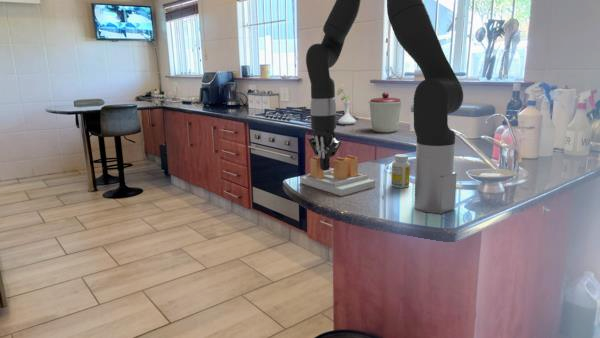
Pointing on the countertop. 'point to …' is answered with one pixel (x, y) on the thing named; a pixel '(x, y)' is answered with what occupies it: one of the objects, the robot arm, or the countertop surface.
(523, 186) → the countertop surface
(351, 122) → the flower in vase
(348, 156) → the tab
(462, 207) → the countertop surface
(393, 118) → the canister
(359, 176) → the switch bank
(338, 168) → the tab
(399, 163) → the supplement bottle
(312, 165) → the tab
